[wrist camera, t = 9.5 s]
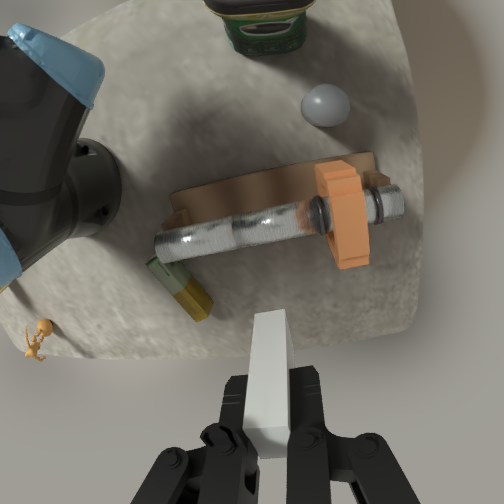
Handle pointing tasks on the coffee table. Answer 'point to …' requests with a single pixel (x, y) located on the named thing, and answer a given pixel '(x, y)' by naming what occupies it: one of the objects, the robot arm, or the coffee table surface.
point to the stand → (262, 190)
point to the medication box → (182, 287)
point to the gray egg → (326, 106)
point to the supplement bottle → (4, 287)
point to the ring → (345, 213)
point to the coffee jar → (262, 24)
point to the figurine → (45, 330)
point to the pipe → (270, 225)
